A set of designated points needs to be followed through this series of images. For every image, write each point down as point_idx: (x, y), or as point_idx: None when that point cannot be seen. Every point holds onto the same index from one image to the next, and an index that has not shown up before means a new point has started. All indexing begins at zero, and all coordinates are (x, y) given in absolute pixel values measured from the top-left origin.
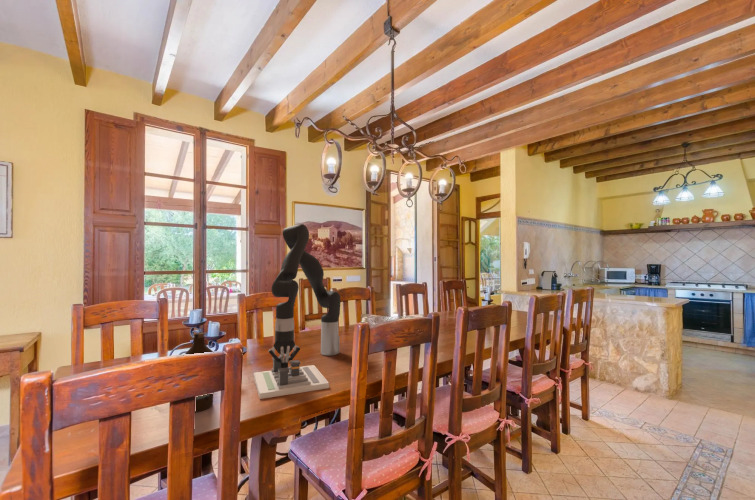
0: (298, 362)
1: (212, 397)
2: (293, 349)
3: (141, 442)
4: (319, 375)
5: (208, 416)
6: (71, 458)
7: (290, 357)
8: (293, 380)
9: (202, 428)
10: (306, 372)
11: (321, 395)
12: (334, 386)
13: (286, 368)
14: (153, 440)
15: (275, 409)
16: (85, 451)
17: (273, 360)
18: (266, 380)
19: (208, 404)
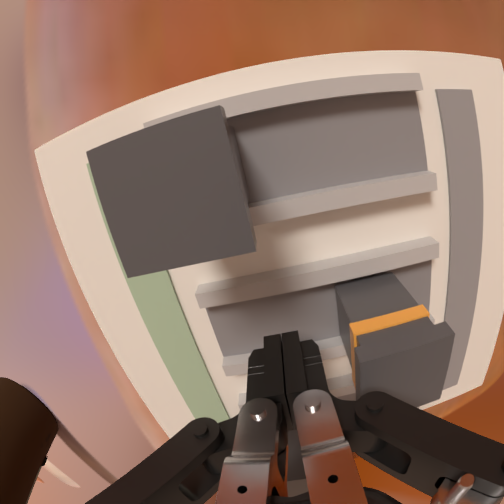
0: (425, 403)
1: (46, 436)
2: (436, 500)
3: (51, 472)
4: (496, 291)
5: (88, 457)
6: None
7: (366, 457)
8: (341, 393)
9: (111, 484)
10: (453, 229)
11: None
12: (494, 354)
13: (302, 487)
14: (62, 476)
15: None
16: None
17: (132, 272)
18: (159, 339)
19: (54, 436)
